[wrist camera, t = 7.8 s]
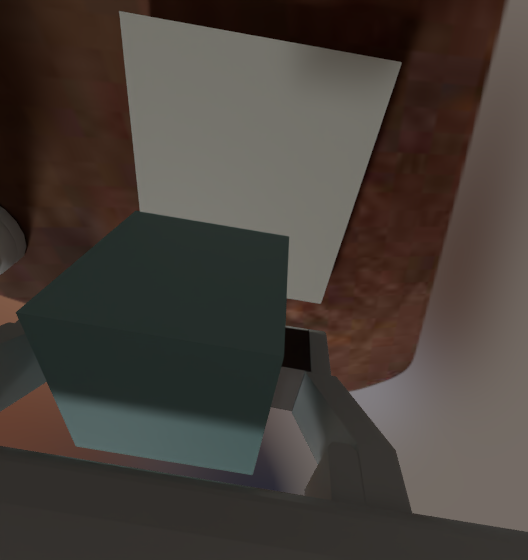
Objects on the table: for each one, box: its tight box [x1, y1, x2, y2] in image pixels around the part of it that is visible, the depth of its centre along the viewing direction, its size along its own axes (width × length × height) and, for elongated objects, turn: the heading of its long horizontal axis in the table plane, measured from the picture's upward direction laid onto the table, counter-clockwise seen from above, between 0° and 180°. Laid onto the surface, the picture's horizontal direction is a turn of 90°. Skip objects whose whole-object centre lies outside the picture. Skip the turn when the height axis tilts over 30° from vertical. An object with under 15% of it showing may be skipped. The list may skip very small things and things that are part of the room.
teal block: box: [16, 211, 289, 475], centre depth 9 cm, size 5×5×5 cm
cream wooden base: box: [119, 11, 402, 304], centre depth 23 cm, size 18×16×3 cm
